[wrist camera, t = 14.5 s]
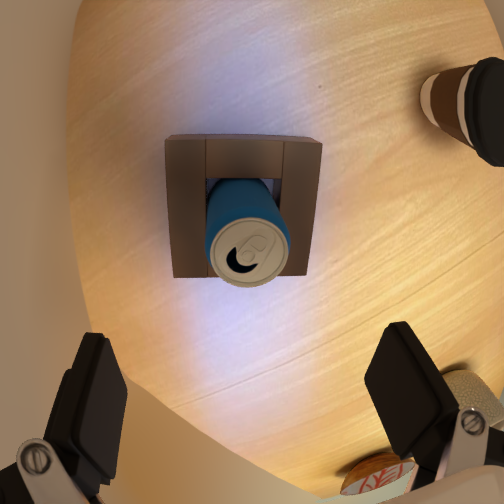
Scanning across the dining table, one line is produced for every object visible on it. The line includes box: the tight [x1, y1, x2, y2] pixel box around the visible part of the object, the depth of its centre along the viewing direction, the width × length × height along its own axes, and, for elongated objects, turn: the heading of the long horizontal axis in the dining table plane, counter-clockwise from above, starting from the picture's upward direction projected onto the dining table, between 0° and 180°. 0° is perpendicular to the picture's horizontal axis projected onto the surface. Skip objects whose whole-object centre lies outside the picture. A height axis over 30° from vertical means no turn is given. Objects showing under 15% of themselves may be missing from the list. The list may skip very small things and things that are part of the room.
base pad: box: [165, 134, 322, 278], centre depth 31 cm, size 14×14×4 cm
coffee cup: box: [420, 57, 504, 167], centre depth 23 cm, size 11×11×12 cm
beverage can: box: [205, 178, 291, 288], centre depth 27 cm, size 6×6×12 cm
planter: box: [442, 370, 504, 431], centre depth 50 cm, size 21×21×19 cm
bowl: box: [340, 453, 415, 495], centre depth 73 cm, size 25×25×8 cm
